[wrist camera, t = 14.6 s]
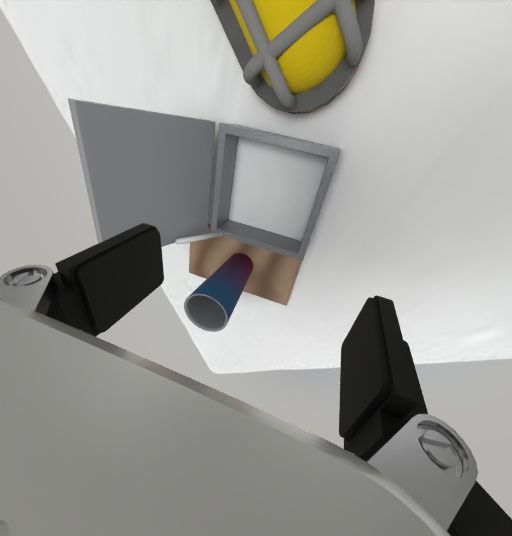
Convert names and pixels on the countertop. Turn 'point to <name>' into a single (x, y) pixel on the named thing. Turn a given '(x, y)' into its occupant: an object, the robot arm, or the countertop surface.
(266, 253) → the walnut board
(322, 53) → the cage light
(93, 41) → the countertop surface
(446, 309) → the countertop surface
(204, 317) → the cup
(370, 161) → the countertop surface
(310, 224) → the equipment case
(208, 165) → the case lid
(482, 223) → the countertop surface
